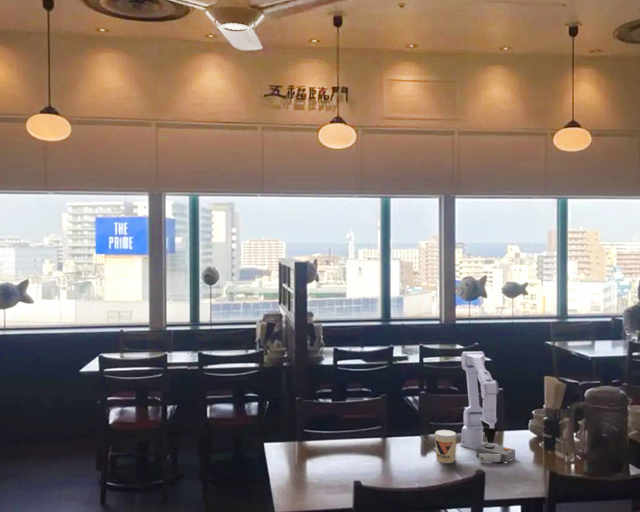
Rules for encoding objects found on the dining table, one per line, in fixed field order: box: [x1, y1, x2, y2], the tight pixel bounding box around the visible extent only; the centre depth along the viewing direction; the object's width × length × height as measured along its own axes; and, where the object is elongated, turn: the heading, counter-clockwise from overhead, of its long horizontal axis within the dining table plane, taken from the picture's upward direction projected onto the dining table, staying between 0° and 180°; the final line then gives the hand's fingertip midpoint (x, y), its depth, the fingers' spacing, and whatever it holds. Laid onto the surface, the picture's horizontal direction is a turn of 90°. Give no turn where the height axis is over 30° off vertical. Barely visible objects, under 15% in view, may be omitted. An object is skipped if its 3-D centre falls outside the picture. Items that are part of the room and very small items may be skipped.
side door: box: [478, 453, 502, 463], centre depth 273 cm, size 10×1×4 cm, turn 83°
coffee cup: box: [434, 429, 457, 464], centre depth 277 cm, size 9×9×12 cm
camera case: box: [475, 442, 516, 463], centre depth 280 cm, size 14×9×5 cm, turn 48°
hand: (489, 439), depth 275 cm, fingers open, 7 cm apart
